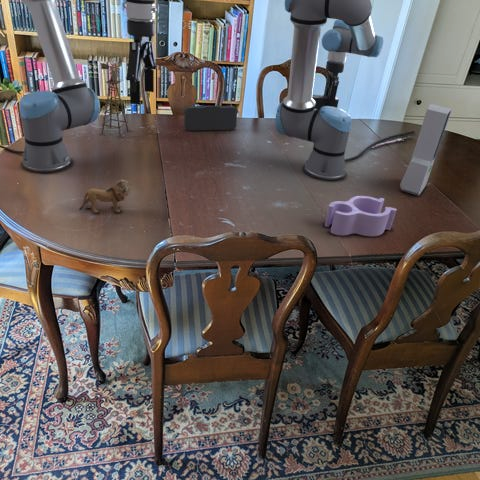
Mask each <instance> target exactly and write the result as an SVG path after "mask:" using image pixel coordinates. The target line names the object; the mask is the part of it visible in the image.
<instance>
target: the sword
mask: <svg viewBox="0 0 480 480" xmlns="http://www.w3.org/2000/svg"><path fill="white" fill-rule="evenodd" d="M405 138H406V137H403V136H402V137H399V138H396V139H392V140H388V141H384V142H379V143H377V144H375V145H373V146H372V147H371V150H373V149H376V148H378V147H381V146H384V145H388V144H389V145H390V144H392V143H398V142H405V141H407V140H411V139H412V138H408V139H405ZM404 139H405V140H404Z"/></svg>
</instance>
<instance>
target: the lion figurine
mask: <svg viewBox="0 0 480 480" xmlns="http://www.w3.org/2000/svg"><path fill="white" fill-rule="evenodd" d="M130 187H131V186H130V181H128V180H125V179H119V180H118V181H116V183H115V184H113V185H112V186H110V187H109V188H108V189H99V188H94V187H93V188H90V189H88V190H86V191H85V193H84V196H83V201H82V205H81V206H80V207H79V209H78V210H79V211H82V210H83V209H84V208H86V209H89V208H91V210H92V212H93V213H95V214H97V213H99V210H98V209H96V208H95V205H96V203H97V200H98V201H100V202H102V203H112V204H111V206H112V208H114V212H116V213H120V211H121V210H120V209H119V202H123V201H124V200H125V199H126V197H127V196H128V195H129V194H130V191H131V189H130ZM89 203H90V205H89Z"/></svg>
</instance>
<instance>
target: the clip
mask: <svg viewBox="0 0 480 480" xmlns="http://www.w3.org/2000/svg"><path fill="white" fill-rule="evenodd" d="M384 201H385V198H383V197H379V198H376V197H373V196H368V195H357V196H352V197H350V198H349V200H347V201H339V200H338V201H337V200H335V201H332V202H330V203H329V205H328V208H327V214H326V218H325V222H324V227H326V228H329V227H330V226H331V227H330V233H331V234H333V235H336V236H348V235H353V234H356V235H360V236H364V237H365V236H366V237H378V236H381V235H382V234H384V232H385V230H387V231H391V229H392V226H393V222H394V219H395V216H396V213H397V210H398V209H397V208H395V207H391V206H385V207H384V211H383V212H382V209H383V206H384Z"/></svg>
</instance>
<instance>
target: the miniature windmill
mask: <svg viewBox="0 0 480 480" xmlns="http://www.w3.org/2000/svg"><path fill="white" fill-rule="evenodd" d="M109 64H110V65H109ZM109 64H107V63H103V62H100V69H101V70H108V71H109V75H110V78H109V80H107V81H105V83H106V84H109V85H108V88H107V90H108V91H107V94H106V95H107V96H106V99H105V106H104V108H105V110H104V116H103V118H102V120H103V121H102V124H101V127H102V128H101V135H104V132H105V127H109V128H110V129H112V128H115V129H118V135H119V138H121V137H122V132H121V128H123V127H124V126H125V128H126V131H127V132H129V131H130V129H129V126H128V123H129V121H127V119H126V114H125V109H124V107H123V103H122V98H121V95H120V91H119V89H120V88H119V86H118V84H120V83H121V82H122V81H120V80H117V79H118V77H119V76H120V70H121V68H120V66H121V64H120V61H119V59H118V57H117V55H116V54H115V55H112V58H110V61H109ZM116 92H117V96H118V97H117V96H116ZM113 99H114V100H113ZM109 102H110V103H109ZM118 102H119V104H120V108H118ZM113 103H114V105H115V107H113ZM109 106H110V107H109ZM108 107H109V109H108ZM113 110H115V111H116V112H113ZM120 114H122V116H123V120H121V119H120V118H119V115H120ZM113 115H116V119H113ZM107 117H109V119H108V120H106V118H107ZM113 121H115V122H117V126H115V125H112V123H113ZM108 122H109V124H107V123H108ZM120 123H122V125H120Z"/></svg>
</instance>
